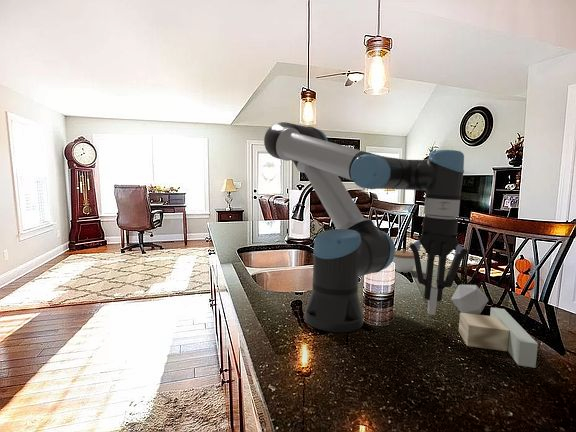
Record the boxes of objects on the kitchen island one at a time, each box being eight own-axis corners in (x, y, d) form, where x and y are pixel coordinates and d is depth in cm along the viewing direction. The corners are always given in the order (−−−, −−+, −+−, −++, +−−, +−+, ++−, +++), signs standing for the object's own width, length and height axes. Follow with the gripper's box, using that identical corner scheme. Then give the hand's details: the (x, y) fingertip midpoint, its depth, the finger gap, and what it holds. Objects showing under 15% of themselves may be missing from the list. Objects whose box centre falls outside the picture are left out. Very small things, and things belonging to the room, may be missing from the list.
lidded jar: (391, 273, 137) (392, 250, 136) (387, 267, 148) (389, 246, 147) (418, 275, 135) (420, 252, 134) (413, 268, 146) (414, 247, 145)
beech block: (467, 346, 75) (469, 325, 75) (458, 331, 83) (460, 312, 83) (507, 352, 73) (509, 330, 73) (494, 336, 81) (496, 316, 81)
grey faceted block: (484, 323, 90) (498, 292, 92) (455, 305, 91) (470, 275, 94) (468, 322, 98) (481, 293, 100) (441, 305, 99) (455, 278, 101)
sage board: (518, 365, 68) (520, 341, 67) (489, 326, 87) (490, 307, 86) (535, 367, 67) (538, 343, 66) (502, 327, 86) (504, 308, 85)
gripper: (412, 216, 77) (403, 314, 79) (475, 220, 73) (464, 323, 76) (410, 213, 84) (402, 303, 87) (467, 217, 80) (457, 311, 83)
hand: (431, 312), depth 81 cm, fingers closed
